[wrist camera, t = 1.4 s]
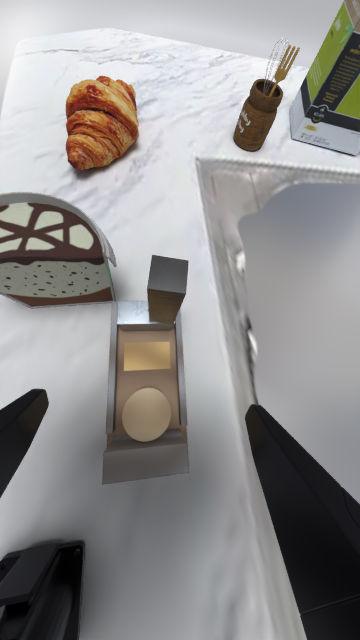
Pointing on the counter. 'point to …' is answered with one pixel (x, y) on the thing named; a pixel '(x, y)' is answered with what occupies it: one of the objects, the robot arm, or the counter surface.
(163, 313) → the block
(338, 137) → the tea box
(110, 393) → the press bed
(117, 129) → the croissant
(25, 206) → the food container
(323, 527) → the robot arm
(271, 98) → the utensil holder
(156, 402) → the nut
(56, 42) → the counter surface
